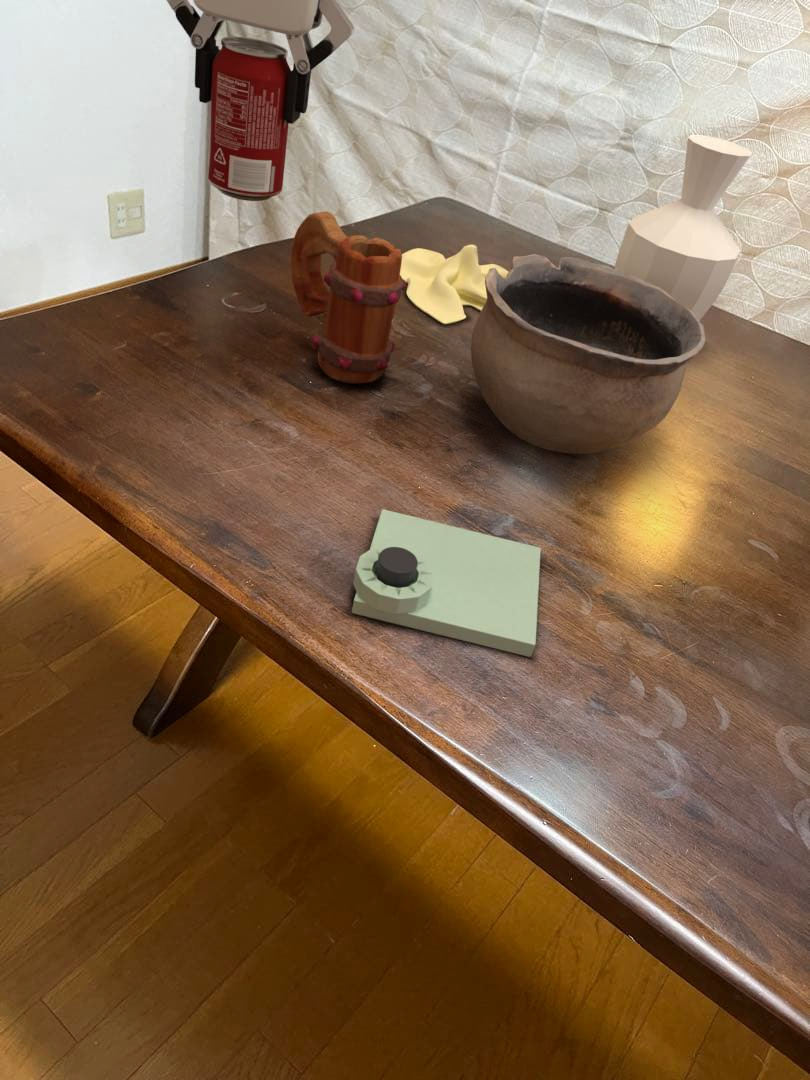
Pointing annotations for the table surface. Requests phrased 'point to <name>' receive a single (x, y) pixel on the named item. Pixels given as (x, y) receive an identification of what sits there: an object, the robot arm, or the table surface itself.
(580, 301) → the ceramic bowl
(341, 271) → the mug
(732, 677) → the table surface
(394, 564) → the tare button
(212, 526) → the table surface
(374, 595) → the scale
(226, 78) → the soda can
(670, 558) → the table surface
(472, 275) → the cloth
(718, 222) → the vase
